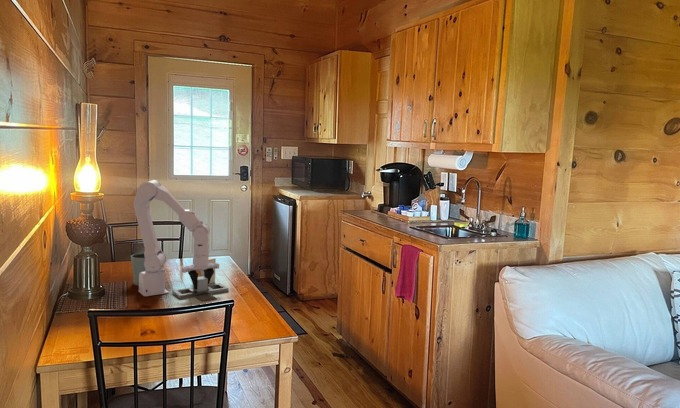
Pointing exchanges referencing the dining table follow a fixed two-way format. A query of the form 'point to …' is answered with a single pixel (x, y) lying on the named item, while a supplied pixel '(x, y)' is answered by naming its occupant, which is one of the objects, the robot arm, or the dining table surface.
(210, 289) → the grey slotted plate
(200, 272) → the small box
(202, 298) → the pad
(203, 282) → the block
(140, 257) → the green bin
